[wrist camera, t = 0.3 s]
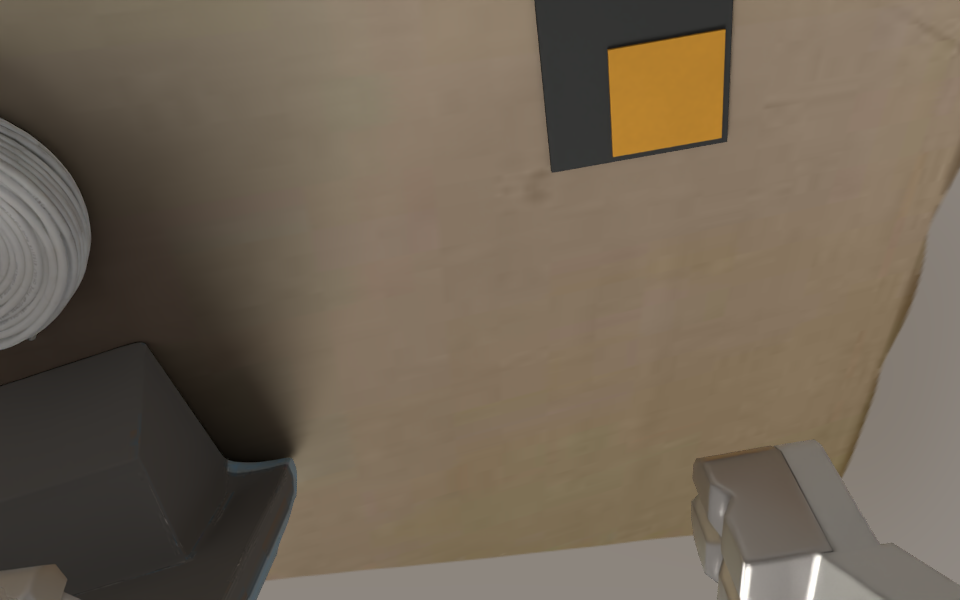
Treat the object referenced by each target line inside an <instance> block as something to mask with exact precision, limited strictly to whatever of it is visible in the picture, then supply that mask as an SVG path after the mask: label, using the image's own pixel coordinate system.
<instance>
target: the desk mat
mask: <svg viewBox="0 0 960 600" xmlns="http://www.w3.org/2000/svg"><path fill="white" fill-rule="evenodd" d="M732 10H733V0H535V11H536V21H537V31H538V41H539V51H540V62H541V72H542V82H543V92H544V102H545V113H546V123H547V133H548V143H549V153H550V164H551V171H552V173H553V172H559V171H564V170H570V169H576V168H581V167H587V166H593V165H598V164H604V163H609V162H615V161H621V160H626V159H632V158H638V157H643V156H649V155H655V154H660V153H666V152H672V151H677V150H683V149H689V148H694V147H700V146H705V145H711V144H717V143H722V142H727V131H728V107H729V83H730V59H731V34H732Z"/></svg>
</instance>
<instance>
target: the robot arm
mask: <svg viewBox="0 0 960 600" xmlns="http://www.w3.org/2000/svg"><path fill="white" fill-rule="evenodd" d="M693 481H694V484H695V486H696V489H697V492H698V495H697V496H696V497H695V498H694V499H693V501H692V502H691V520H692V527H693V534H694V540H695V543H696V547H697V551H698V555H699V557H700V561H701V563H702V566H703V569H704V572H705V574H706V575H708V576H709V577H710V578H711V579H713V580H714V581H715V582H717V583H718V594H717V600H960V585H958V584H957V583H955V582H953V581H952V580H950V579H949V578H947V577H946V576H944V575H943V574H941V573H939V572H938V571H936V570H935V569H933V568H932V567H930V566H928V565H927V564H925V563H924V562H922V561H920V560H919V559H917V558H916V557H914V556H913V555H911V554H909V553H908V552H906V551H905V550H903V549H901V548H900V547H898V546H897V545H895V544H894V543H887V544H880V543H879V541H878V540H877V538H876V537H875V535H874V533H873V531H872V530H871V528H870V526H869V525H868V523H867V521H866V519H865V518H864V516H863V514H862V513H861V511H860V509H859V508H858V506H857V504H856V502H855V501H854V499H853V497H852V496H851V494H850V493H849V491H848V489H847V487H846V486H845V484H844V482H843V480H842V479H841V477H840V475H839V474H838V472H837V470H836V469H835V467H834V465H833V464H832V462H831V460H830V458H829V457H828V455H827V453H826V452H825V450H824V448H823V447H822V445H821V444H820V443H818V442H817V441H816V440H807V441H801V442H795V443H789V444H782V445H776V446H773V447H772V446H766V447H760V448H754V449H748V450H743V451H737V452H731V453H725V454H720V455H714V456H708V457H703V458H697V459H696V460H695V462H694V465H693ZM66 582H67V578H66V577H65V576H64V574H63V573H62V572H61V570H60V569H59V568H58V567H57V565H56V564H50V565H41V566H33V567H26V568H18V569H11V570H4V571H0V600H81V599H79V598H76V597H74V596H72V595H70V594H67V593H65V592H63V591H64V588H65V585H66Z"/></svg>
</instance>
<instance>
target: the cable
mask: <svg viewBox="0 0 960 600" xmlns="http://www.w3.org/2000/svg"><path fill="white" fill-rule="evenodd" d="M90 246H91V229H90V221H89V216H88V211H87V208H86V205H85V203H84V200H83V197H82V195H81V193H80V190H79V188H78V187H77V185H76V183H75V181H74V179H73V178H72V176H71V174H70V173H69V172H68V171H67V169H66V168H65V167H64V166H63V164H62V163H61V162H60V161H59V160H58V159H57V158H56V157H55V155H54V154H53V153H52V152H51V151H49V150H48V149H47V148H46V147H45V146H44V145H43V144H41V143H40V142H39V141H38V140H36V139H35V138H34V137H32V136H31V135H30V134H28V133H27V132H25V131H23V130H22V129H20V128H18V127H16V126H15V125H13V124H11V123H10V122H8V121H6V120H4V119H2V118H0V350H3V349H6V348H9V347H12V346H14V345H16V344H19V343H20V342H22V341H24V340H26V339H28V340H29V341H32V340H34V339H35V338H36V335H37V333H39V332H41V331H42V330H43V329H45V328H46V327H47V326H48V325H49V324H50V323H52V322H53V321H54V320H55V319H56V317H57V316H58V315H59V314H60V313H61V312H62V310H63V309H64V307H65V306H66V305H67V303H68V302H69V300H70V299H71V297H72V296H73V295H74V293H75V292H76V290H77V289H78V287H79V285H80V283H81V281H82V279H83V276H84V273H85V270H86V266H87V261H88V257H89V252H90Z"/></svg>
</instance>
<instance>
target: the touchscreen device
mask: <svg viewBox="0 0 960 600" xmlns="http://www.w3.org/2000/svg"><path fill="white" fill-rule="evenodd" d="M296 491H297V471H296V466H295V464H294V461H293V459H292V458H282V459H277V460H271V461H264V462H234V461H230V460H227V459H226V458H224V457H223V456H222V454H221V453H220V452H219V450H218V449H217V447H216V446H215V444H214V443H213V441H212V440H211V439H210V437H209V436H208V434H207V433H206V431H205V430H204V428H203V427H202V425H201V424H200V422H199V421H198V420H197V418H196V417H195V415H194V414H193V412H192V411H191V409H190V408H189V406H188V405H187V404H186V402H185V401H184V399H183V398H182V396H181V395H180V393H179V392H178V390H177V389H176V387H175V386H174V385H173V383H172V382H171V380H170V379H169V377H168V376H167V374H166V373H165V371H164V370H163V369H162V367H161V366H160V364H159V363H158V361H157V360H156V358H155V357H154V355H153V354H152V352H151V351H150V350H149V348H148V347H147V345H146V344H145V343H134V344H130V345H126V346H123V347H119V348H116V349H113V350H110V351H107V352H104V353H101V354H98V355H95V356H92V357H89V358H86V359H83V360H80V361H77V362H74V363H71V364H68V365H64V366H61V367H58V368H55V369H52V370H49V371H46V372H43V373H40V374H37V375H34V376H31V377H28V378H25V379H22V380H19V381H16V382H12V383H9V384H6V385H3V386H0V571H4V570H11V569H18V568H26V567H33V566H41V565H50V564H56V565H57V567H58V568H59V569H60V570H61V572H62V573H63V574H64V576H65V577H66V578H67V582H66V585H65V588H64V591H63V592H65V593H67V594H70V595H72V596H74V597H76V598H79V599H81V600H257V597H258V595H259V593H260V590H261V588H262V586H263V584H264V582H265V579H266V577H267V575H268V572H269V570H270V568H271V566H272V563H273V561H274V559H275V557H276V554H277V551H278V546H279V543H280V540H281V538H282V535H283V533H284V531H285V528H286V526H287V523H288V520H289V517H290V514H291V510H292V506H293V502H294V500H295V498H296Z"/></svg>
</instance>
